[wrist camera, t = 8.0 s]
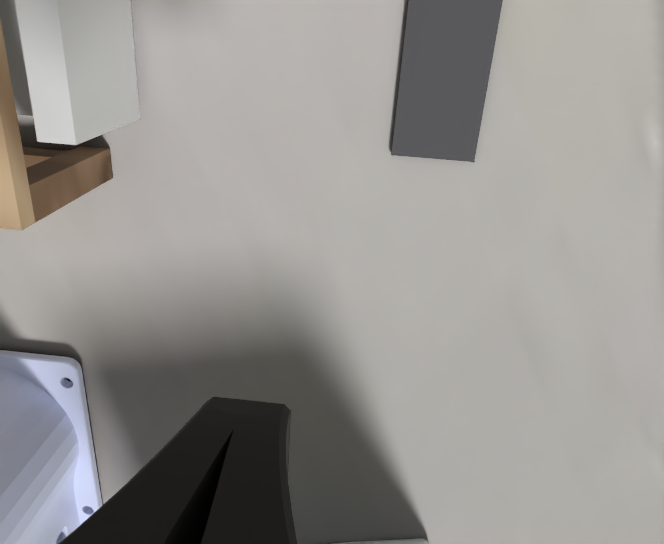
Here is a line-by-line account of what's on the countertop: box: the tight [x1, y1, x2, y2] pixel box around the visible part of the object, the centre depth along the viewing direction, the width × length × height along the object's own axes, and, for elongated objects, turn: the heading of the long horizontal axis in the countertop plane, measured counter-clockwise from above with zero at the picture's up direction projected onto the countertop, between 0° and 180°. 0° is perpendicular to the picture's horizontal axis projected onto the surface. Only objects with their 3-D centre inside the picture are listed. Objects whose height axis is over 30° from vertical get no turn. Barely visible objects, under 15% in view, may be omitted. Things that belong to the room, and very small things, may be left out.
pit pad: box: [391, 0, 502, 162], centre depth 16 cm, size 6×3×1 cm, turn 176°
